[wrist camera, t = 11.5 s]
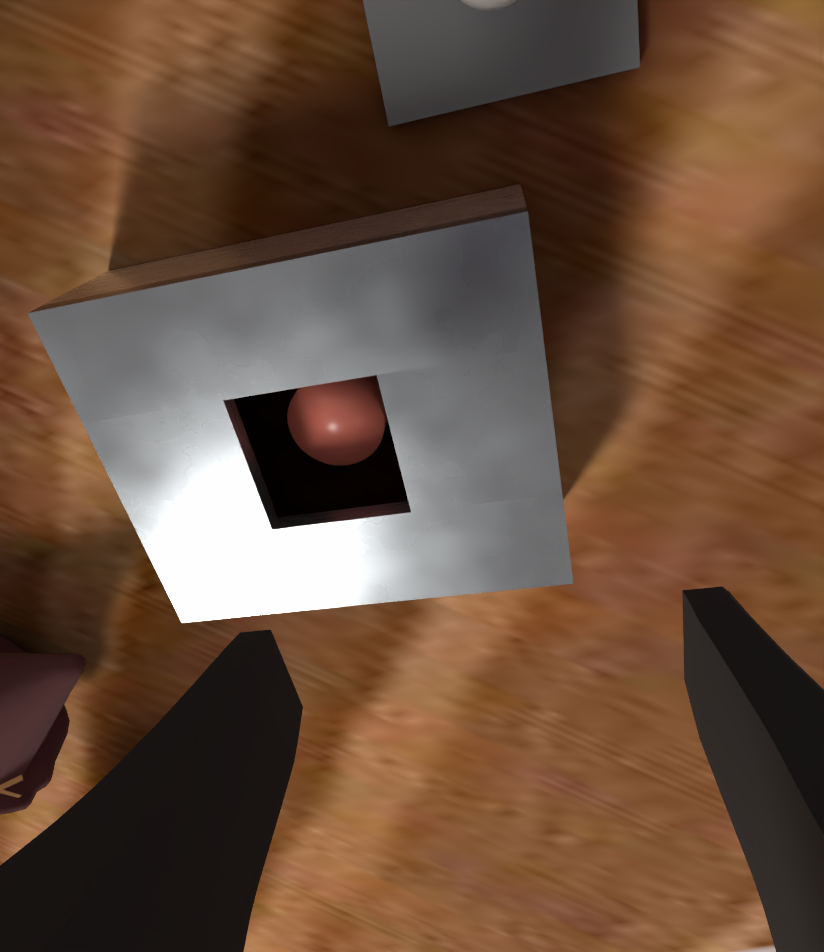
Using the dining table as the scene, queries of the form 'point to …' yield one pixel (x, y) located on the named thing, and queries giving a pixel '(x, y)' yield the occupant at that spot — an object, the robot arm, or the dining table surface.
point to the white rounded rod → (488, 4)
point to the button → (338, 420)
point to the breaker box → (319, 362)
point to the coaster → (493, 50)
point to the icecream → (32, 719)
